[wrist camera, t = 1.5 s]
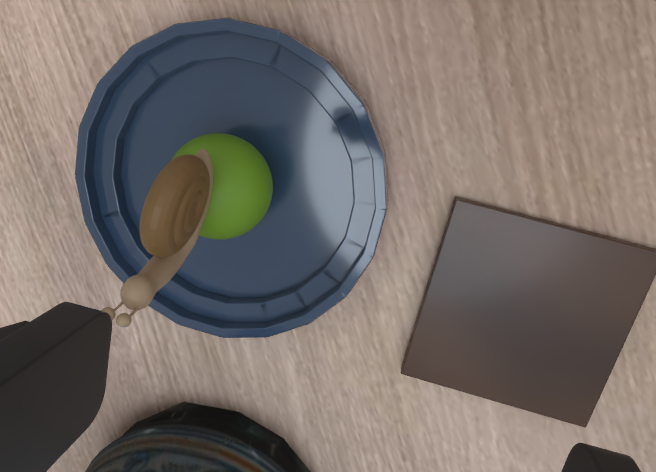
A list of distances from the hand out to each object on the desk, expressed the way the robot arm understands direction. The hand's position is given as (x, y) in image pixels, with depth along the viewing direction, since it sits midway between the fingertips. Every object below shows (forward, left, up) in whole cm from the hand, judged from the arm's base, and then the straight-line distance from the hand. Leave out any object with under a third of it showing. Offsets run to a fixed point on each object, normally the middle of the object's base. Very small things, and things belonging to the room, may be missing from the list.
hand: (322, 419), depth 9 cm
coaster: (+5, +9, -22) cm, 24 cm away
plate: (+2, -8, -22) cm, 23 cm away
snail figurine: (+2, -8, -21) cm, 23 cm away
